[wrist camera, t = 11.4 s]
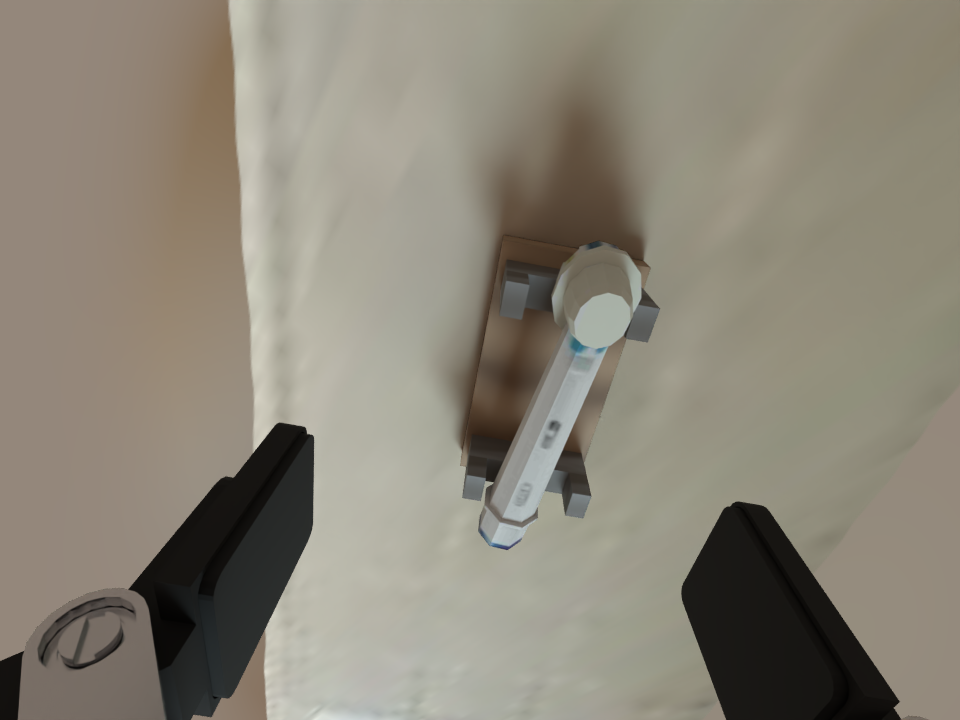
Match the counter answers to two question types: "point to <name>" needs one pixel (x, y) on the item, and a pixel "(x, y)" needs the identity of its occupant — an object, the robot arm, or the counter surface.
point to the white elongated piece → (562, 383)
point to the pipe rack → (534, 369)
